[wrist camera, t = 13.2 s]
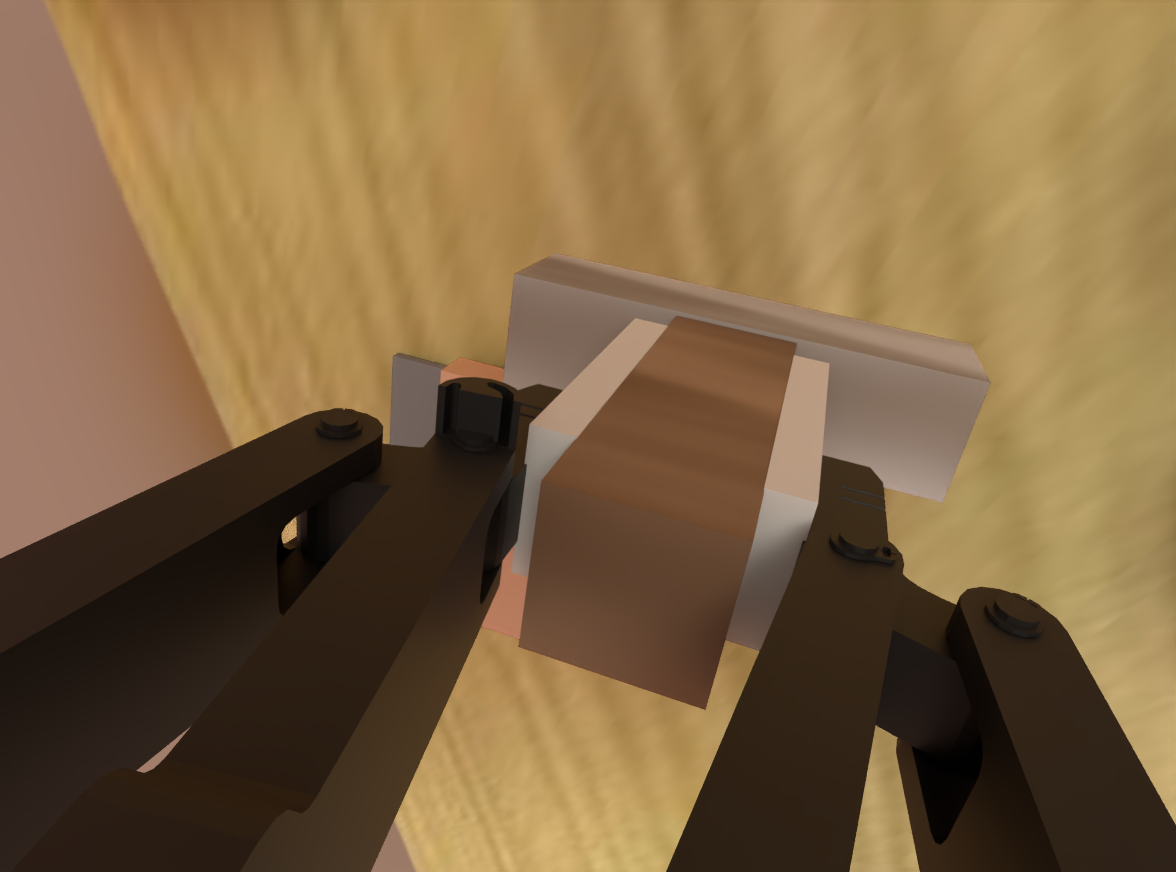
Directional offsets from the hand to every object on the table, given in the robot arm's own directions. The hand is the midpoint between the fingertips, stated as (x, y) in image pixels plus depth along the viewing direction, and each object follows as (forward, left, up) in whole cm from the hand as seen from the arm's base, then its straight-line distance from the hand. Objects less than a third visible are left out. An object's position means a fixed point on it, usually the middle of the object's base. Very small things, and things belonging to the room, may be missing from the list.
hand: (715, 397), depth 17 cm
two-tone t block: (0, 0, -4) cm, 4 cm away
